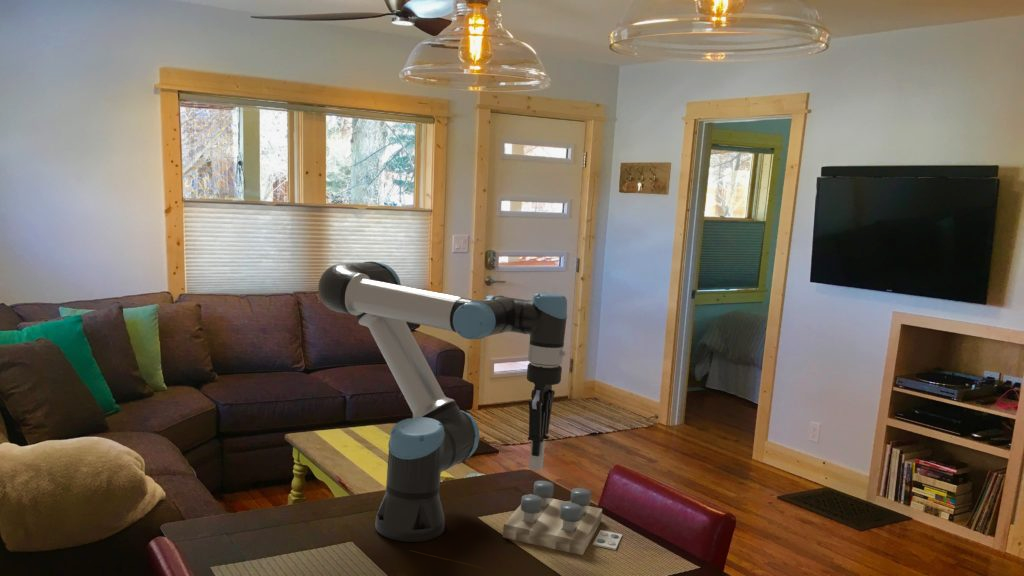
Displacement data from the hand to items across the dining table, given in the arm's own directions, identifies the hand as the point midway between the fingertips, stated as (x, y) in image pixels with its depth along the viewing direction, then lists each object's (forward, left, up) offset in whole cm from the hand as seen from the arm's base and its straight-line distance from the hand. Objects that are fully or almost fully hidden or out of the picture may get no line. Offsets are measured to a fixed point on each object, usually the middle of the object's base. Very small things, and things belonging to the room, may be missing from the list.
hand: (535, 468), depth 166 cm
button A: (0, 0, -13) cm, 13 cm away
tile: (+17, +5, -15) cm, 23 cm away
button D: (+9, +10, -13) cm, 18 cm away
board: (+4, +5, -15) cm, 16 cm away
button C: (+9, 0, -13) cm, 15 cm away
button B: (0, +10, -13) cm, 16 cm away
